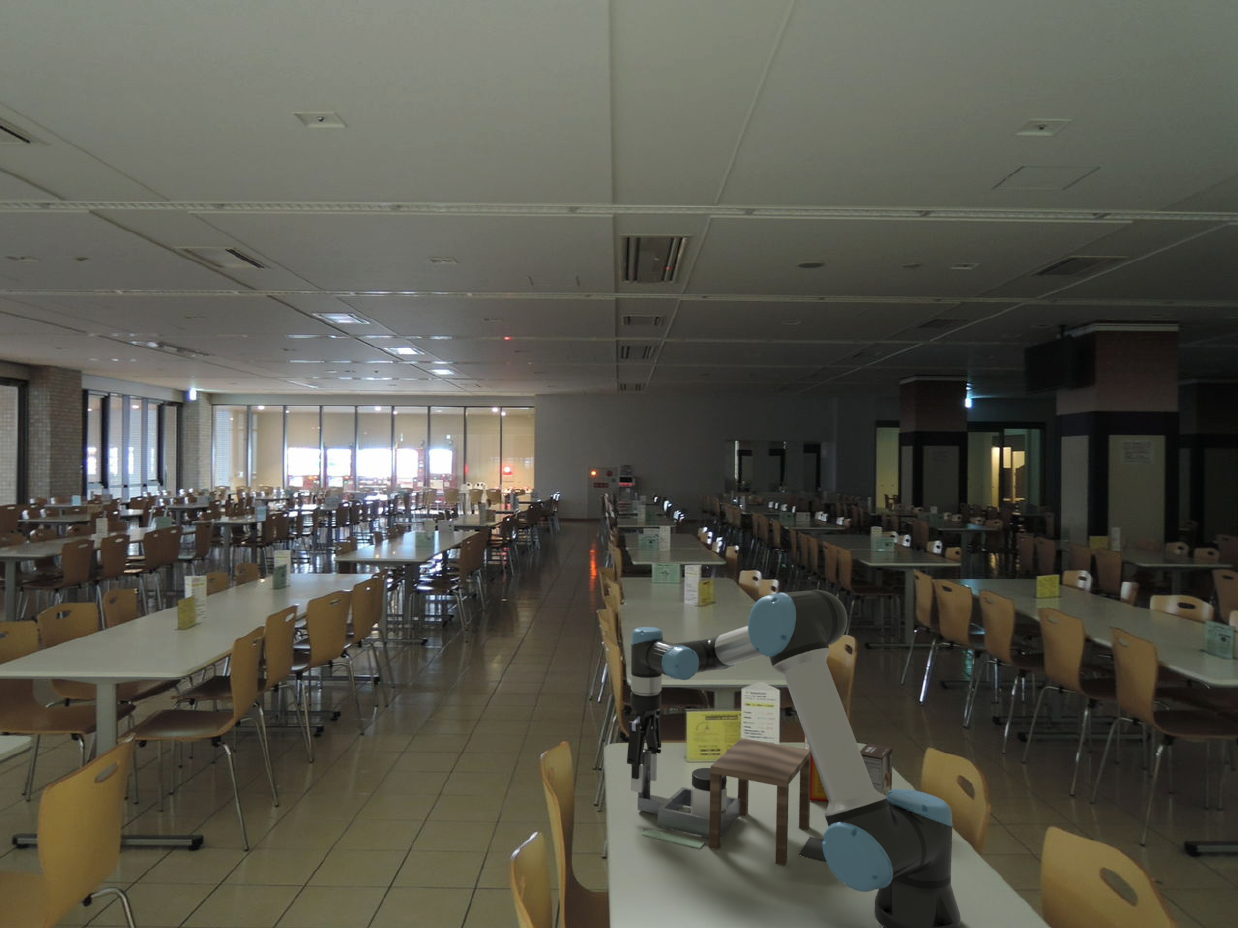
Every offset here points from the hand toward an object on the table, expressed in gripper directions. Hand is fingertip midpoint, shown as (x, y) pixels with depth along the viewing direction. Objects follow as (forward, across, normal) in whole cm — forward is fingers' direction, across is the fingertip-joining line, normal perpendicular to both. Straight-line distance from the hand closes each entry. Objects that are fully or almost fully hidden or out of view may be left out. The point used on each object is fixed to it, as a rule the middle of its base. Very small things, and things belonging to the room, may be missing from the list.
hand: (643, 785), depth 202 cm
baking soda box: (+6, -32, +36) cm, 48 cm away
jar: (+6, 0, +17) cm, 18 cm away
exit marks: (+6, 0, +13) cm, 14 cm away
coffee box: (+6, -25, +50) cm, 57 cm away
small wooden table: (+6, 0, +30) cm, 30 cm away
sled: (+6, 0, +10) cm, 12 cm away
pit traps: (+6, 0, +46) cm, 47 cm away
